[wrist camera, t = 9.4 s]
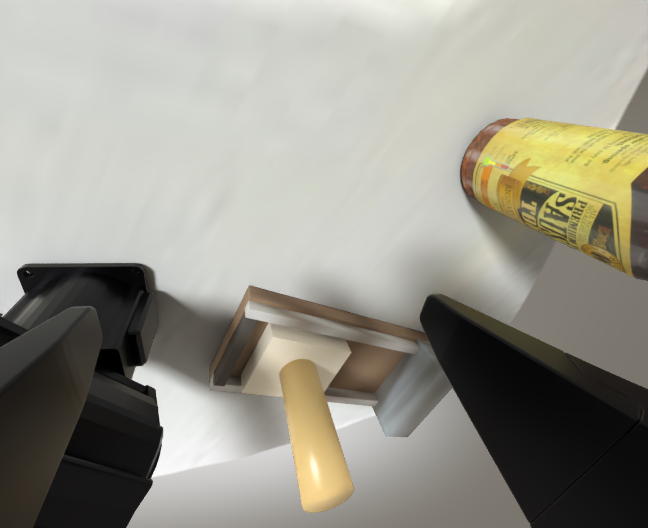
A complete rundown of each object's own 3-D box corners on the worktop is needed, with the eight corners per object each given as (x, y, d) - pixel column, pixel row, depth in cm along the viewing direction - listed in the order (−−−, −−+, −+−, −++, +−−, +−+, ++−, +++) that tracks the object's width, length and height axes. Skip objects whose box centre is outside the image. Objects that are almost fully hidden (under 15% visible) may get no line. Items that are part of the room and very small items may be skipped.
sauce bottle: (440, 168, 22) (1050, 407, 6) (505, 95, 21) (1585, 134, 4) (481, 215, 25) (939, 453, 9) (539, 155, 24) (1217, 309, 8)
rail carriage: (240, 374, 25) (248, 532, 16) (269, 320, 23) (296, 467, 14) (313, 384, 28) (352, 520, 19) (344, 337, 26) (403, 465, 17)
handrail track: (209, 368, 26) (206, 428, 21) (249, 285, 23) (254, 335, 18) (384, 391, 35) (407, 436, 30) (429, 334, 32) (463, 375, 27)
